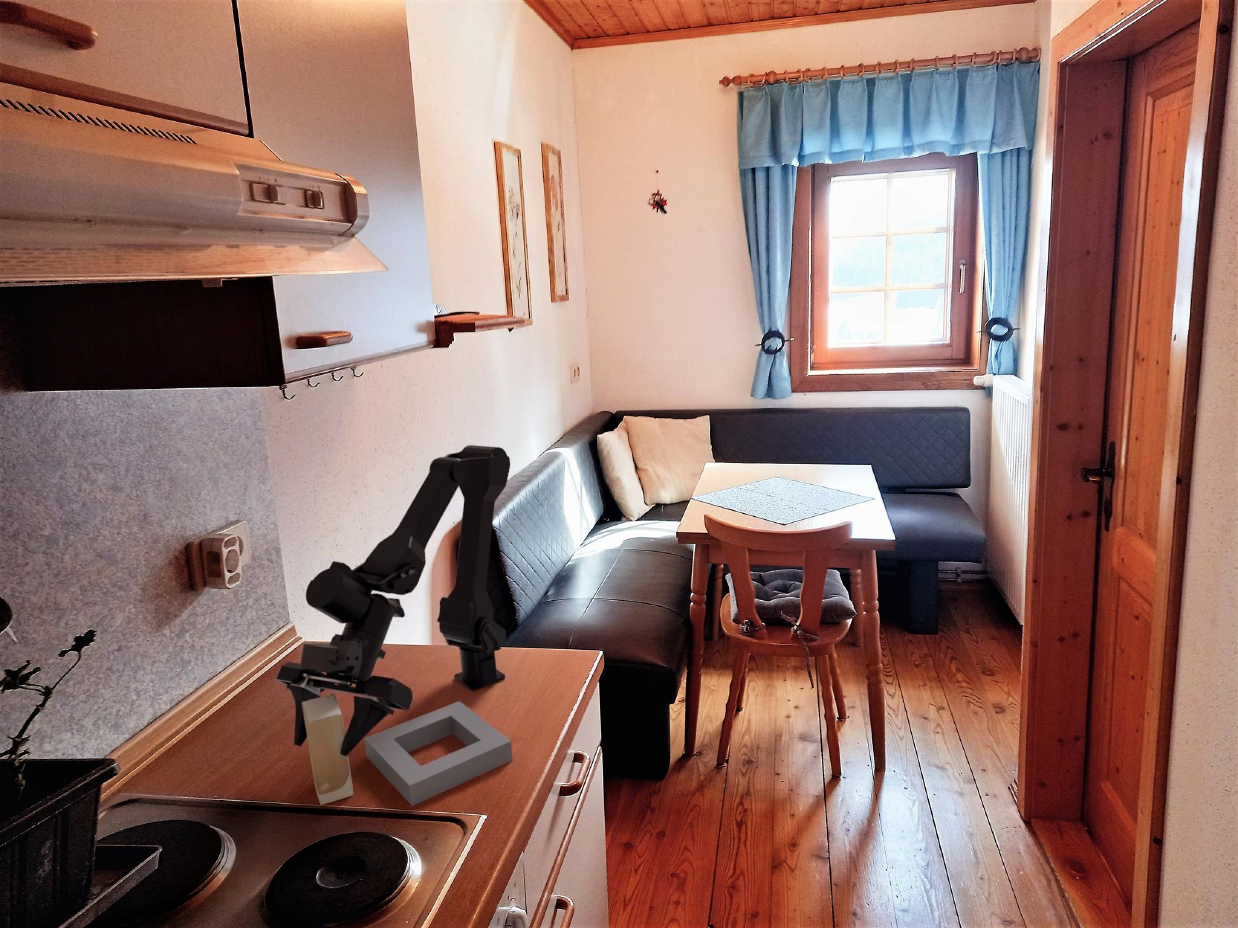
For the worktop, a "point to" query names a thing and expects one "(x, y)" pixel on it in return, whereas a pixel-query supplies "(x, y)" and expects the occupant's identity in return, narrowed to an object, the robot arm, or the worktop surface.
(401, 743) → the plate
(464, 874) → the worktop surface
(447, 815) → the worktop surface
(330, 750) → the skincare box
